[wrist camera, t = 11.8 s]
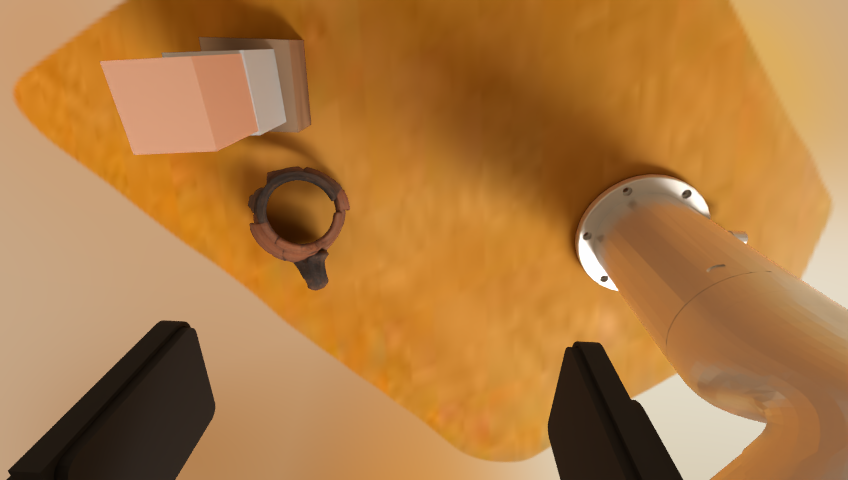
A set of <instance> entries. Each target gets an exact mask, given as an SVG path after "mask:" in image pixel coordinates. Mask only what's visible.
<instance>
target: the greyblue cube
mask: <svg viewBox="0 0 848 480" xmlns="http://www.w3.org/2000/svg"><path fill="white" fill-rule="evenodd" d="M223 54H242V59H243V63H244V68H245V72H246V76H247V81H248V85H249V90H250V94H251V99H252V103H253V108H254V112H255V117H256V121H257V126H258V130H259V131H258V132H255V133H253V134H251V135H262V134H264V133H266V132H268V131H270V130H272V129H273V128H275V127H277V126H279V125H281V124H283V123H285V122H286V117H285V111H284V105H283V99H282V93H281V88H280V82H279V76H278V70H277V64H276V59H275V53H274V49H261V50H231V51H200V52H171V53H162V56H163V58H168V57H186V56H204V55H223ZM249 136H250V135H249Z"/></svg>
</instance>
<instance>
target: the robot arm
mask: <svg viewBox="0 0 848 480" xmlns="http://www.w3.org/2000/svg"><path fill="white" fill-rule="evenodd" d="M625 188H626V189H625ZM624 189H625V190H624ZM623 190H624V191H623ZM584 233H586V234H584ZM747 240H748V236H747V234H746V233H745V232H743V231H726V230H725V229H723V228H722V227H720V226H719V225H717V224H716V223H714V222H713V221H711V216H710V212H709V208H708V205H707V204H706V202H705V200H704V198H703V196H702V195H701V194H700V193H699V192H698V191H697V190H696V189H695V188H693V187H692V186H690V185H689V184H687V183H685V182H683V181H681V180H679V179H677V178H675V177H671V176H667V175H657V174H648V175H641V176H636V177H632V178H629V179H626V180H623V181H621V182H619V183H617V184H615V185H613V186H611V187H610V188H608V189H607V190H606V191H604V192H603V193H601V194H600V195H599V196H598V197H597V198H596V199H595V200H594V201H593V202H592V203H591V204H590V206H589V207H588V208H587V210H586V211H585V212H584V214H583V216H582V218H581V220H580V222H579V225H578V228H577V232H576V240H575V247H576V253H577V257H578V259H579V262H580V264H581V266H582V267H583V269H584V270H585V272H586V273H587V274H588V275H589V276H590V277H591V278H592V279H593V280H594V281H595V282H597V283H598V284H600V285H602V286H604V287H606V288H609V289H612V290H616V291H619V292H620V294H621V295H622V296H623V298H624V299H625V301H626V302H627V303H628V305H629V306H630V308H631V309H632V310H633V312H634V313H635V315H636V316H637V317H638V319H639V320H640V321H641V323H642V324H643V326H644V327H645V328H646V330H647V331H648V333H649V334H650V335H651V337H652V338H653V340H654V341H655V342H656V344H657V345H658V347H659V348H660V349H661V351H662V352H663V354H664V355H665V356H666V358H667V359H668V361H669V362H670V363H671V365H672V366H673V367H674V368H675V370H676V371H677V373H678V374H679V375H680V377H681V378H682V379H683V381H684V382H685V383H686V384H687V385H688V386H689V387H690V388H691V389H692V390H693V391H694V392H695V393H696V394H697V395H698V396H700V397H701V398H703V399H704V400H706V401H707V402H709V403H710V404H712V405H713V406H716V407H718V408H720V409H722V410H725V411H727V412H729V413H732V414H734V415H738V416H741V417H744V418H747V419H751V420H755V421H759V422H763V423H767V424H766V427H765V429H764V430H763V432H762V433H761V434H760V435H759V436H758V437H757V438H756V439H755V440H754V441H753V442H752V443H751V444H750V445H749V446H747V447H746V448H745V449H744V450H743V452H742V454H741V455H739V456H738V457H737V458H735V460H733V461H732V462H731V463H729V464H728V465H727V466H726V467H724V468H723V469H722V470H721V471H720V472H718V473H717V474H716V475H715V476H713V477H712V478H711V479H710V480H848V310H847V309H846V308H844V307H842V306H841V305H839V304H838V303H836V302H834V301H833V300H831V299H830V298H828V297H827V296H825V295H823V294H822V293H821V292H819V291H817V290H816V289H814V288H812V287H811V286H810V285H808V284H807V283H805V282H804V281H802V280H800V279H799V278H797V277H796V276H794V275H793V274H791V273H790V272H788V271H787V270H785V269H784V268H782V267H781V266H779V265H778V264H776V263H775V262H773V261H772V260H770V259H768V258H767V257H765V256H764V255H762V254H761V253H759V252H758V251H756V250H755V249H753V248H752V247H750V246H749V245H747V244H746V243H747ZM214 412H215V402H214V398H213V394H212V390H211V386H210V382H209V379H208V375H207V371H206V367H205V363H204V360H203V356H202V352H201V348H200V344H199V341H198V337H197V333H196V331H195V329H194V328H191V327H190V325H189V324H188V323H187V322H182V321H160V322H159V323H157V324H156V325H155V326H154V327H153V328H152V329H151V330H150V331H149V332H148V333H147V334H146V335H145V336H144V337H143V338H142V339H141V340H140V341H139V342H138V343H137V344H136V345H135V346H134V347H133V348H132V349H131V350H130V351H129V352H128V353H127V354H126V355H125V356H124V357H122V359H120V361H119V362H117V363H116V364H115V365H114V367H112V369H110V370H109V371H108V372H107V373H106V374H105V375H104V376H103V378H101V379H100V380H99V381H98V382H97V383H96V384H95V385H94V386H93V387H92V388H91V389H90V390H89V391H88V392H87V393H86V394H85V395H84V396H83V397H82V398H81V399H80V400H79V401H78V402H77V403H76V404H75V405H74V406H73V407H72V408H71V409H70V410H69V411H68V412H67V413H66V414H65V415H64V416H63V417H62V418H61V419H60V420H59V421H58V422H57V423H56V424H55V425H54V426H53V427H52V428H51V429H50V430H49V431H48V432H47V433H46V434H45V435H44V436H43V437H42V438H41V439H40V440H39V441H38V442H37V443H36V444H35V445H34V446H33V447H32V448H31V449H30V450H28V451H27V453H25V455H23V457H21V458H20V459H19V461H17V462H16V464H14V465H13V466H12V467H11V468H10V469H9V470H8V472H9V474H10V475H11V476H10V477H9V478H8V479H7V480H175V479H176V477H177V476H178V474H179V473H180V471H181V469H182V468H183V466H184V464H185V463H186V461H187V459H188V458H189V456H190V454H191V453H192V451H193V449H194V448H195V446H196V445H197V443H198V441H199V440H200V438H201V436H202V435H203V433H204V431H205V430H206V428H207V426H208V425H209V423H210V421H211V420H212V418H213V415H214ZM548 435H549V439H550V443H551V447H552V450H553V454H554V457H555V461H556V465H557V468H558V472H559V476H560V479H561V480H683V479H682V477H681V475H680V473H679V471H678V470H677V468H676V466H675V464H674V462H673V461H672V459H671V457H670V455H669V454H668V452H667V450H666V448H665V446H664V445H663V443H662V441H661V439H660V437H659V435H658V434H657V432H656V430H655V428H654V426H653V425H652V423H651V421H650V419H649V417H648V415H647V414H646V412H645V410H644V409H643V407H642V406H641V404H640V403H639V402H637V401H636V400H631V399H630V397H629V395H628V393H627V391H626V389H625V388H624V386H623V384H622V382H621V380H620V378H619V376H618V374H617V373H616V371H615V369H614V367H613V365H612V363H611V361H610V359H609V358H608V356H607V354H606V352H605V350H604V348H603V346H602V345H601V344H600V343H596V342H575V343H574V344H573V347H567V348H566V350H565V354H564V358H563V362H562V366H561V371H560V375H559V379H558V383H557V387H556V392H555V396H554V400H553V404H552V408H551V413H550V417H549V421H548Z"/></svg>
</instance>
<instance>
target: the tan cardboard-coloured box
mask: <svg viewBox="0 0 848 480" xmlns="http://www.w3.org/2000/svg"><path fill="white" fill-rule="evenodd" d="M199 41H200V47H201V51H231V50H261V49H274V53H275V59H276V64H277V70H278V76H279V82H280V88H281V93H282V99H283V105H284V111H285V117H286V122H285V123H283V124H281V125H279V126H277V127H275V128H273V129H272V130H270V131H274V132H300V131H301V130H303V129H305V128H306V127H308V126H309V125H311V117H310V106H309V95H308V84H307V73H306V62H305V51H304V40H282V39H250V38H217V37H199Z"/></svg>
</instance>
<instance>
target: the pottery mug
mask: <svg viewBox="0 0 848 480" xmlns="http://www.w3.org/2000/svg"><path fill="white" fill-rule="evenodd" d="M294 180H302V181H308V182H310V183H313V184H315V185H317V186H319V187H320V188H321V189H322V190H324V191H325V193H326V194H327V195H328V197H329V198H330V200H331V201H334V204H335V207H336V213H334V215H333V221H332V224H331V226H330V228H329V230H328V231H327V232H326V234H325V235H323V236H322V237H321V238H320V239H318V240H316V241H314V242H311V243H306V244H297V243H292V242H289V241H287V240H284V239H283V238H281V237H280V236H279V235H278V234H276V233H275V231H274V230H273V229H272V227H271V226H270V223H269V221H268V219H267V214H266V207H267V202H268V199H269V197H270V195H271V194H272V192H273V191H274V190H275V189H276V188H277V187H278V186H280V185H282V184H283V183H286V182H289V181H294ZM248 206H249V207H250V208H251V210H252V212H253V213H254V215H253V217H254V223H250V230H251V233H252V235H253V237H254V238H255V240H256V242H257V243H258V244H259V245H260V246H261V247H262V248H263V249H264V250H265V251H267V252H268V253H270V254H272V255H273V256H274V257H276V258H278V259H281V260H284V261H290V262H293V263H294V264H295V265H296V267H297V268H298V270H299V271H300V273H301V275H302V277H303V278H304V279H305V281H306V283H307V285H308V288H309V289H311V290H319V289H321V288H324V287H325V286H326V284H327V283H328V277H327V274H326V269H325V259H326V257H327V256H328V252H327V249H328V248H329V247H330V246H331V245H332V243H333V242H334V241H335V239H336V238H337V237H338V235H339V233H340V231H341V228H342V226H343V224H344V220H345V210H350V206H349V202H348V198H347V196H346V194H345V192H344V190H342V187H341V186H340V184H338V183H337V182H336V181H335V180H333V179H332V178H330V177H329V176H327V175H326V174H324V173H322V172H320V171H318V170H315V169H312V168H308V167H306V168H305V169H302V168H300V167H290V168H285V169H282V170H277V171H272V172H269V173H267V184H266V186H265V187H264V188H260V189H257V190H256V191H255V193H254V194H253V195H251V196H250V198H249V202H248Z"/></svg>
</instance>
